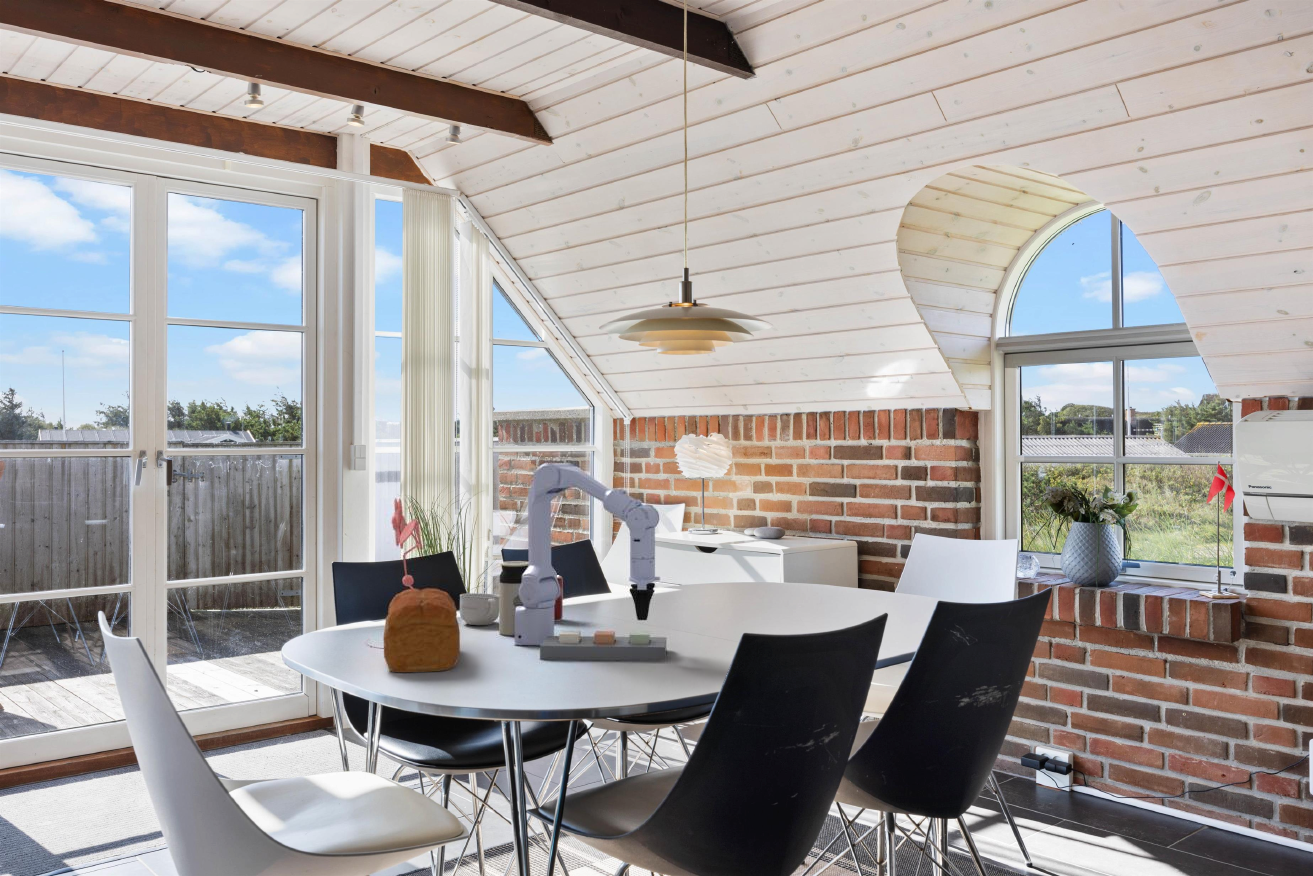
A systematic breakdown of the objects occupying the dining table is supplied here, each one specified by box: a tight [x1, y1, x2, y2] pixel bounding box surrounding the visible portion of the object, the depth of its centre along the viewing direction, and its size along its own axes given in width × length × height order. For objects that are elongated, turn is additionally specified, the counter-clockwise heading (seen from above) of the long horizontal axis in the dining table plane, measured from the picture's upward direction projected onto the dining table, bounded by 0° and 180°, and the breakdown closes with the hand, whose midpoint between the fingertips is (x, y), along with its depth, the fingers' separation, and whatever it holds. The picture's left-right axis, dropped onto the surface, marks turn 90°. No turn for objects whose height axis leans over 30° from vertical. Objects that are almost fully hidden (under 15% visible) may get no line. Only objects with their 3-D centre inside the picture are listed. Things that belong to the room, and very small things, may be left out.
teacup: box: [459, 592, 499, 626], centre depth 268 cm, size 14×11×8 cm
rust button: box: [593, 630, 616, 644], centre depth 230 cm, size 4×4×3 cm
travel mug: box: [498, 560, 529, 637], centre depth 256 cm, size 8×8×18 cm
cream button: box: [558, 630, 582, 643], centre depth 230 cm, size 4×4×3 cm
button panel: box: [539, 635, 667, 662], centre depth 230 cm, size 28×12×3 cm, turn 88°
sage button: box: [629, 630, 651, 644], centre depth 230 cm, size 4×4×3 cm
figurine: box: [363, 497, 423, 650], centre depth 245 cm, size 15×26×35 cm, turn 19°
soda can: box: [554, 575, 564, 623], centre depth 276 cm, size 7×7×12 cm
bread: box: [382, 587, 461, 673], centre depth 224 cm, size 16×27×16 cm, turn 14°
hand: (642, 617), depth 231 cm, fingers open, 7 cm apart
